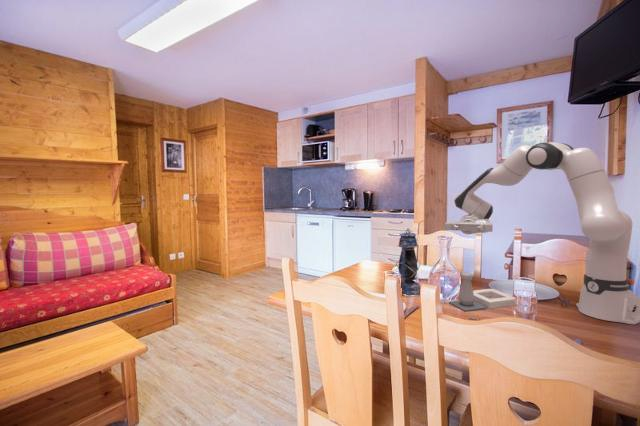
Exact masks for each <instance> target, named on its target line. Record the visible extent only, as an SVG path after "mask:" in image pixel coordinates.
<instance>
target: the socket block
mask: <svg viewBox="0 0 640 426" xmlns="http://www.w3.org/2000/svg"><path fill="white" fill-rule="evenodd" d="M473 294H474V302H476V303H478V304H480V305H482V306H484V307H487V308H488V309H496V308H503V307H511V306H516V305H515V301H516V299H515V298H516V297H514V296H512V295H510V294H507V293H504V292H502V291H499V290H497V289H494V288H485V289H476V290H473Z"/></svg>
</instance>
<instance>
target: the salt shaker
mask: <svg viewBox="0 0 640 426" xmlns="http://www.w3.org/2000/svg"><path fill="white" fill-rule="evenodd" d="M460 278H461V279H462V281H461V285H460V290H459V295H458V300H460V302H461V304H462V305H464V306H471V305H472V304H473V302H475V301H474V294H473V291H474V290H473V284H472V280H473V278H474V277H473V274H472V273H470V272H462V273H461V274H460Z"/></svg>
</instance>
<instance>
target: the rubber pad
mask: <svg viewBox="0 0 640 426" xmlns="http://www.w3.org/2000/svg"><path fill="white" fill-rule="evenodd" d="M448 304H449V305H451V306H454V307H455V308H457V309H459V310H461V311H463V312H464V313H467V312H474V311H481V310H487V307H485V306H483V305H481V304H479V303H477V302H475V301H474V302H473V304H472V305H471V306H464V305H462V304H461V302H460V300H459V299H458V300H451V301H448Z"/></svg>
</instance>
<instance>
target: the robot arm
mask: <svg viewBox="0 0 640 426" xmlns="http://www.w3.org/2000/svg"><path fill="white" fill-rule="evenodd" d="M532 169H535V170H546V171H547V170H548V171H553V170H562V172H564V174H565V176H566V179H567V182H568V184H569V187H570V188H571V191H572V194H573V196H574V198H575V202H576V205H577V210H578V214H579V215H578V216H579V219H580V222H581V227H580V229H581V231H582V233H583V235H585V237H586V238H588V239H589V245H588V249H587V252H586V255H585V274H583V277H582V278H583V285H582V286H581V288H580V295H579V302H576V304H575V305H576V307H577V308H578V311H579V312H580V313H582V314H584V315H585V316H588V317H591V318H594V319H597V320H598V319H599V320H602V321H608V322H616V323H623V324H628V325H636V324H640V297H639V296H638V295H637V294H636V293H634V292H633V291H632V290H631V289H630V285H631V286H634V284H635V283H636V281H635V279H629V278H627V268H628V267H627V266H628V256H629V250H630V244H631V238H632V231H633V220H632V218H631V216H630V215H629V214H628V213H626V212H625V211H622V210H619V208H618V204H617V202H616V196H615V190H614V187H613V185H612V183H611V181H610V179H609V177H608V174H607V173H606V172H607V171H606V169H605V167H604V165H603V164H602V162H601V161H600V158H598V156H597V154H596V153H595V152H594V151H593V150H592V149H591V148H588V147H577V148H573V146H571V145H569V144H567V143H563V142H561V143H560V142H557V141H554V142H553V141H549V142H539V143H536V144H534V145H532V146H531V145H526V144H523V145H520V146H518V147H516V149H514V150H513V151H512V152H511V153H510V154H509V155H508V156H507V157H506V159H504V160H503V162H502V163H501V164H500V165H498V166H496V167H489V168H487V169H486V170H485V171H484V172H483V173H481V174H480V175H479V176H477V178H476V179H475V180H474V181H473V182H471V183H470V184H469V185H468V186H467V187H466V188H465V189H463V190H461V191H460V192H459V193H458V194H457V195H456V196H455V198H454V205H455V207H456V208H458V209H460V210H462V211H463V212H465V213H467V214H465V215H463V216H462V217H461V218H460V220H459V221H446V222H445V223H444V229H445V231H459V232H461V233H463V234H465V235H473V234H480V233H484V234H486V233H490V232H493V222H492V221H490V220H489V219H490V218H491V216H492V214H493V213H494V208H493V204H491V203H489V202H487V201H486V200H485V199H482V198H481V197H479V196H478V195H476V194H475V192H477V190H479V188H481V187H482V186H483V185H485V184H494V185H498V186H499V185H500V186H503V187H504V186H505V187H511V186H515V185H517V184H519V183H520V182H521V181H522V180H524V178H526V176H527V175H528V174H529V173H530V171H532Z"/></svg>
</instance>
